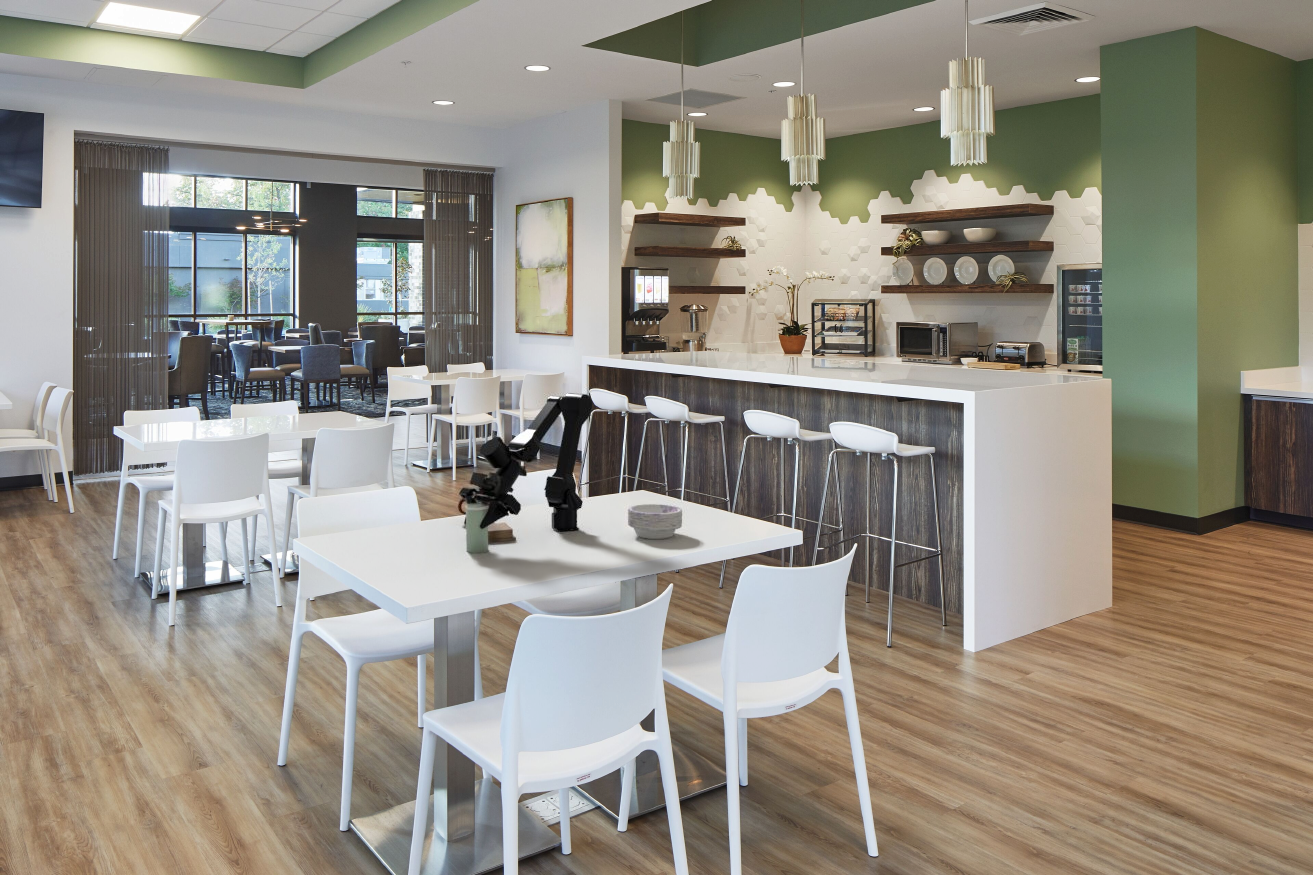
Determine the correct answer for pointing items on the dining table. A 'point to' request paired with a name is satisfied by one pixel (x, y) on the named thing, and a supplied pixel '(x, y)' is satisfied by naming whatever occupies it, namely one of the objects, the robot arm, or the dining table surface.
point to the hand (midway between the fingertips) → (473, 526)
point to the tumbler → (476, 528)
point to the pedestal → (500, 533)
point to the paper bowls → (654, 520)
